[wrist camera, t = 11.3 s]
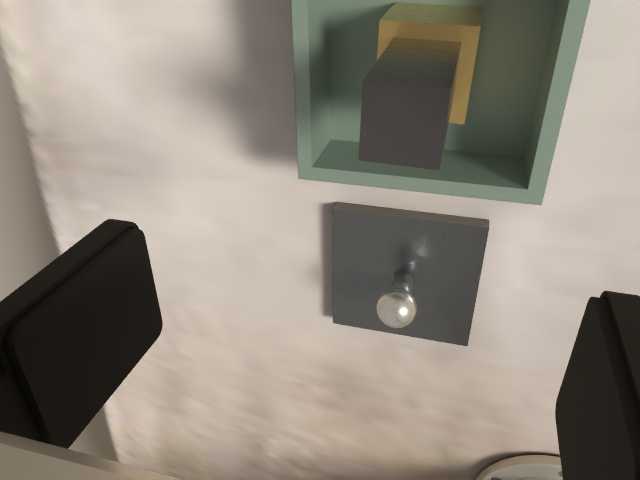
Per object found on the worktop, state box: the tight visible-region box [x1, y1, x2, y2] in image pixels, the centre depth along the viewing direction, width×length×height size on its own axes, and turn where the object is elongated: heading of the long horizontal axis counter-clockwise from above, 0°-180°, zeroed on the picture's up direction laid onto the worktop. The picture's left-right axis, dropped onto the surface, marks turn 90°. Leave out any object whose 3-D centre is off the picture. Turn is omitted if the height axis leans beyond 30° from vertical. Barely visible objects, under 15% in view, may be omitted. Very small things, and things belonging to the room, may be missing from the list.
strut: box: [358, 2, 483, 170], centre depth 24 cm, size 4×4×12 cm
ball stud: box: [333, 202, 489, 346], centre depth 35 cm, size 10×10×5 cm
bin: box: [291, 0, 590, 205], centre depth 27 cm, size 13×13×5 cm
